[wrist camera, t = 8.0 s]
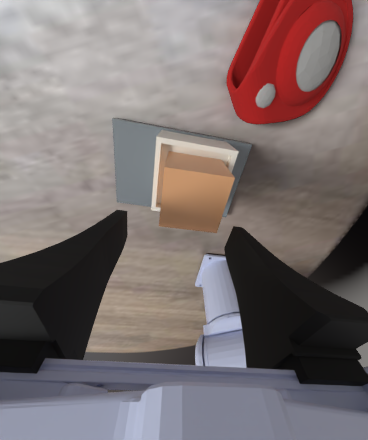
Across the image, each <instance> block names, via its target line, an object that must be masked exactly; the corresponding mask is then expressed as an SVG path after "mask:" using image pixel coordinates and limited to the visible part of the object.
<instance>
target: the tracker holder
mask: <svg viewBox="0 0 368 440" xmlns="http://www.w3.org/2000/svg"><path fill="white" fill-rule="evenodd" d="M352 23H353V6H352V0H260V2H259V4H258V6H257V8H256V10H255V13H254V15H253V17H252V19H251V21H250V24H249V26H248V28H247V30H246V32H245V34H244V37H243V39H242V41H241V43H240V45H239V48H238V50H237V52H236V54H235V56H234V58H233V61H232V63H231V65H230V68H229V70H228V75H227V87H228V90H229V94H230V97H231V100H232V103H233V107H234V109H235V112H236V114H237V116H238V117H239V118H240V119H242V120H243V121H245V122H247V123H251V124H268V123H276V122H283V121H287V120H292V119H295V118H297V117H300V116H302V115H304V114H306V113H307V112H309V111H310V110H311V109H312V108H313V107H314V106H315V105H316V104H318V102H319V101H320V100H321V99H322V98H323V97H324V95H325V94H326V92H327V91H328V89H329V88H330V86H331V85H332V83H333V81H334V80H335V78H336V76H337V74H338V72H339V70H340V68H341V65H342V63H343V61H344V58H345V55H346V52H347V49H348V45H349V41H350V37H351V32H352Z"/></svg>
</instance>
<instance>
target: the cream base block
mask: <svg viewBox="0 0 368 440" xmlns="http://www.w3.org/2000/svg"><path fill="white" fill-rule="evenodd" d="M169 151H171V152H177V153H183V154H189V155H195V156H201V157H208V158H214V159H220V160H222V161H223V162H224V164H225V165H226V166H227V168H228V169H229V170H230V172H231V173H232V170H233V167H234V164H235V161H236V158H237V155H238V152H239V151H237V150H236V149H235V148H234V147H232V146H231V145H230V144H229V143H227V142H224V141H219V140H214V139H208V138H203V137H197V136H192V135H187V134H181V133H176V132H171V131H165V130H161V132H160V133H159V134H158V135H157V136H156V150H155V164H154V178H153V192H152V205H151V210H154V211H160V209H161V198H162V188H163V177H164V167H165V163H166V160H167V156H168V152H169Z"/></svg>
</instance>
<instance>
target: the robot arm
mask: <svg viewBox="0 0 368 440" xmlns="http://www.w3.org/2000/svg"><path fill="white" fill-rule="evenodd" d="M126 238H127V211H122V210H116V211H115V212H113V213H112V214H110V215H109V216H107V217H106V218H104V219H103V220H101V221H100V222H98V223H97V224H95V225H93V226H92V227H90V228H88V229H87V230H85V231H83V232H81V233H79V234H78V235H76V236H74V237H72V238H69V239H67V240H65V241H63V242H61V243H58V244H56V245H53V246H51V247H48V248H46V249H43V250H40V251H38V252H35V253H32V254H29V255H26V256H23V257H19V258H16V259H13V260H10V261H6V262H2V263H0V440H368V367H364V368H363V367H362V366H361V364H360V363H359V362H358V360H359V359H361V355H360V354H359V353H358V351H357V350H356V348H358V347H359V346H361V345H363V344H365V343H367V342H368V312H367V311H366V310H365V309H364V308H362V307H360V306H358V305H356V304H354V303H352V302H350V301H348V300H346V299H344V298H341V297H339V296H337V295H335V294H333V293H332V292H330V291H328V290H326V289H324V288H322V287H321V286H319V285H317V284H315V283H314V282H312V281H310V280H309V279H307V278H305V277H304V276H302V275H301V274H299V273H297V272H296V271H294V270H293V269H292V268H290V267H289V266H287V265H286V264H285V263H283V262H282V261H281V260H279V259H278V258H277V257H275V256H274V255H273V254H272V253H271V252H269V251H268V250H267V249H266V248H265V247H264V246H262V245H261V244H260V243H259V242H258V241H257V240H256V239H255V238H254V237H253V236H251V235H250V234H249V233H248V232H247V231H246V230H245V229H243V228H242V227H235V226H233V229H232V231H231V234H230V236H229V238H228V241H227V243H226V246H225V256H220V255H211V254H206V255H204V258H203V261H202V264H201V267H200V270H199V273H198V276H197V279H196V282H195V286H197V287H203V294H204V303H205V311H206V319H207V325H204V326H203V327H204V335H200V337H199V339H198V341H197V344H196V349H195V350H196V351H195V361H196V365H176V364H154V363H133V362H114V361H92V360H83V358H84V354H85V351H86V348H87V344H88V341H89V337H90V334H91V331H92V328H93V324H94V321H95V318H96V315H97V312H98V309H99V306H100V303H101V300H102V297H103V294H104V291H105V288H106V285H107V283H108V281H109V278H110V276H111V274H112V272H113V270H114V267H115V265H116V263H117V261H118V259H119V257H120V255H121V253H122V250H123V248H124V245H125V242H126ZM209 257H211V258H209ZM107 390H134V391H128V392H115V393H114V392H113V393H108V392H107Z"/></svg>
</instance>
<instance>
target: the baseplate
mask: <svg viewBox="0 0 368 440" xmlns="http://www.w3.org/2000/svg"><path fill="white" fill-rule="evenodd" d="M112 121H113V140H114V158H115V176H116V194H117V202H120V203H128V204H135V205H142V206H149V207H151V205H152V192H153V178H154V164H155V150H156V136H157V135H158V134H159V133H160V132H161V130H165V131H171V132H176V133H181V134H187V135H192V136H197V137H203V138H208V139H214V140H219V141H224V142H227V143H229V144H230V145H231V146H232V147H234V148H235V149H236V150H237V151H239V152H238V155H237V158H236V161H235V164H234V167H233V170H232V174H233V176H234V177H235V179H234V182H233V185H232V188H231V191H230V194H229V197H228V200H227V203H226V206H225V209H224V212H223V215H222V217H226V216H227V213H228V210H229V207H230V205H231V202H232V199H233V196H234V194H235V191H236V188H237V185H238V183H239V180H240V177H241V174H242V172H243V169H244V166H245V163H246V161H247V158H248V155H249V152H250V150H251V147H252V144H250V143H246V142H241V141H235V140H230V139H225V138H219V137H214V136H209V135H204V134H198V133H193V132H188V131H182V130H177V129H172V128H166V127H161V126H156V125H151V124H145V123H140V122H135V121H129V120H124V119H119V118H112Z"/></svg>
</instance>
